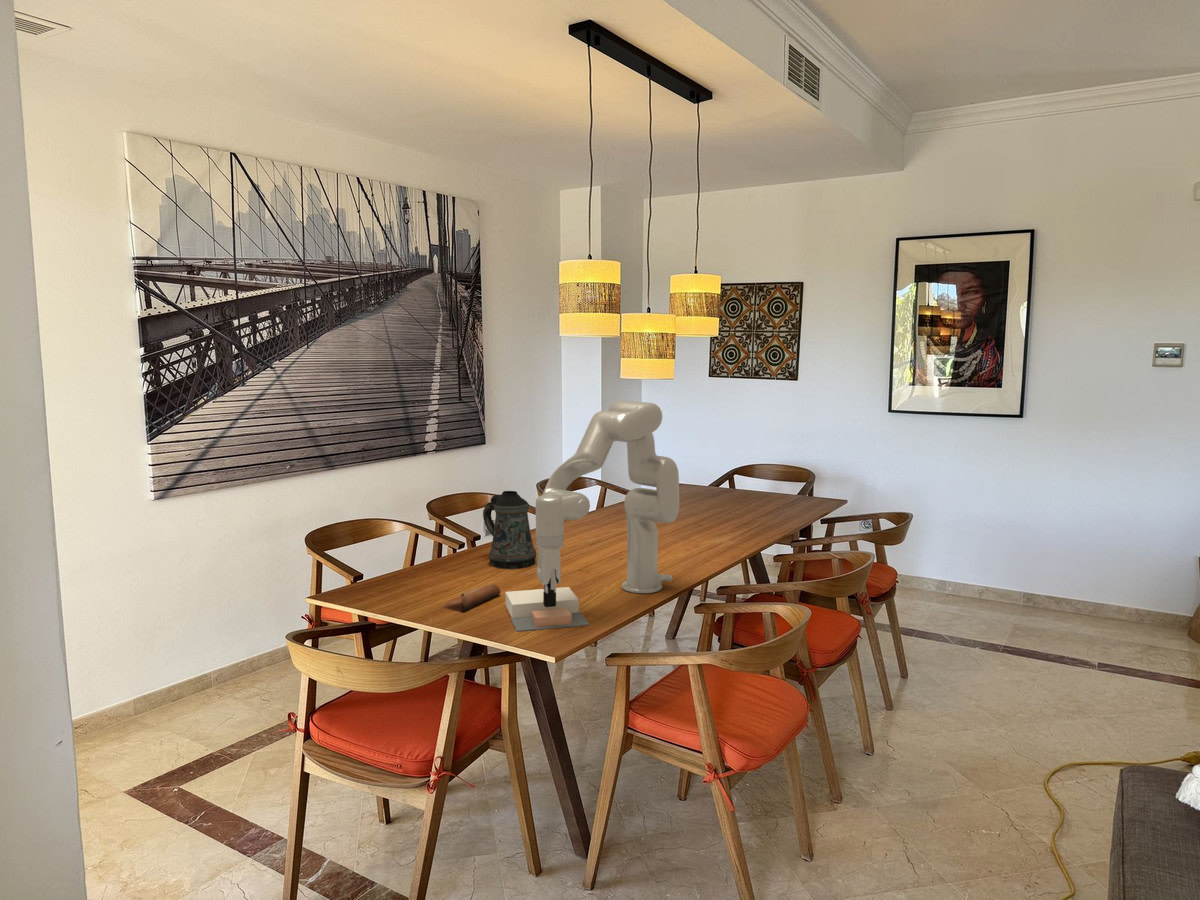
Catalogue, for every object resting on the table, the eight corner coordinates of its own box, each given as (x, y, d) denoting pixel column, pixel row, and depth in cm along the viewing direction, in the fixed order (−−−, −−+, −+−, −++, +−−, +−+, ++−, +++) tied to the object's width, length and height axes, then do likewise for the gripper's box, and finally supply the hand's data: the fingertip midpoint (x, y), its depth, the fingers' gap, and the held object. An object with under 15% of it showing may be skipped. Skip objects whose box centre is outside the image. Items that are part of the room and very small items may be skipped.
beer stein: (532, 570, 273) (532, 497, 270) (475, 568, 275) (474, 496, 271) (539, 557, 290) (539, 488, 286) (485, 555, 291) (484, 487, 288)
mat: (580, 613, 230) (580, 612, 230) (589, 625, 221) (589, 624, 221) (510, 619, 225) (510, 618, 225) (516, 631, 215) (516, 630, 215)
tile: (571, 614, 221) (571, 623, 221) (566, 607, 226) (566, 616, 227) (535, 618, 218) (535, 627, 218) (531, 611, 224) (531, 619, 224)
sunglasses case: (477, 591, 250) (486, 574, 247) (494, 605, 248) (503, 588, 245) (440, 607, 234) (449, 590, 232) (457, 623, 232) (466, 605, 229)
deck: (568, 600, 242) (568, 587, 242) (578, 612, 231) (578, 599, 230) (505, 605, 237) (505, 591, 237) (512, 618, 226) (512, 604, 225)
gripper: (530, 535, 226) (531, 598, 228) (541, 548, 211) (541, 616, 214) (557, 533, 228) (557, 596, 230) (569, 546, 213) (569, 613, 216)
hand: (549, 605), depth 222 cm, fingers closed
